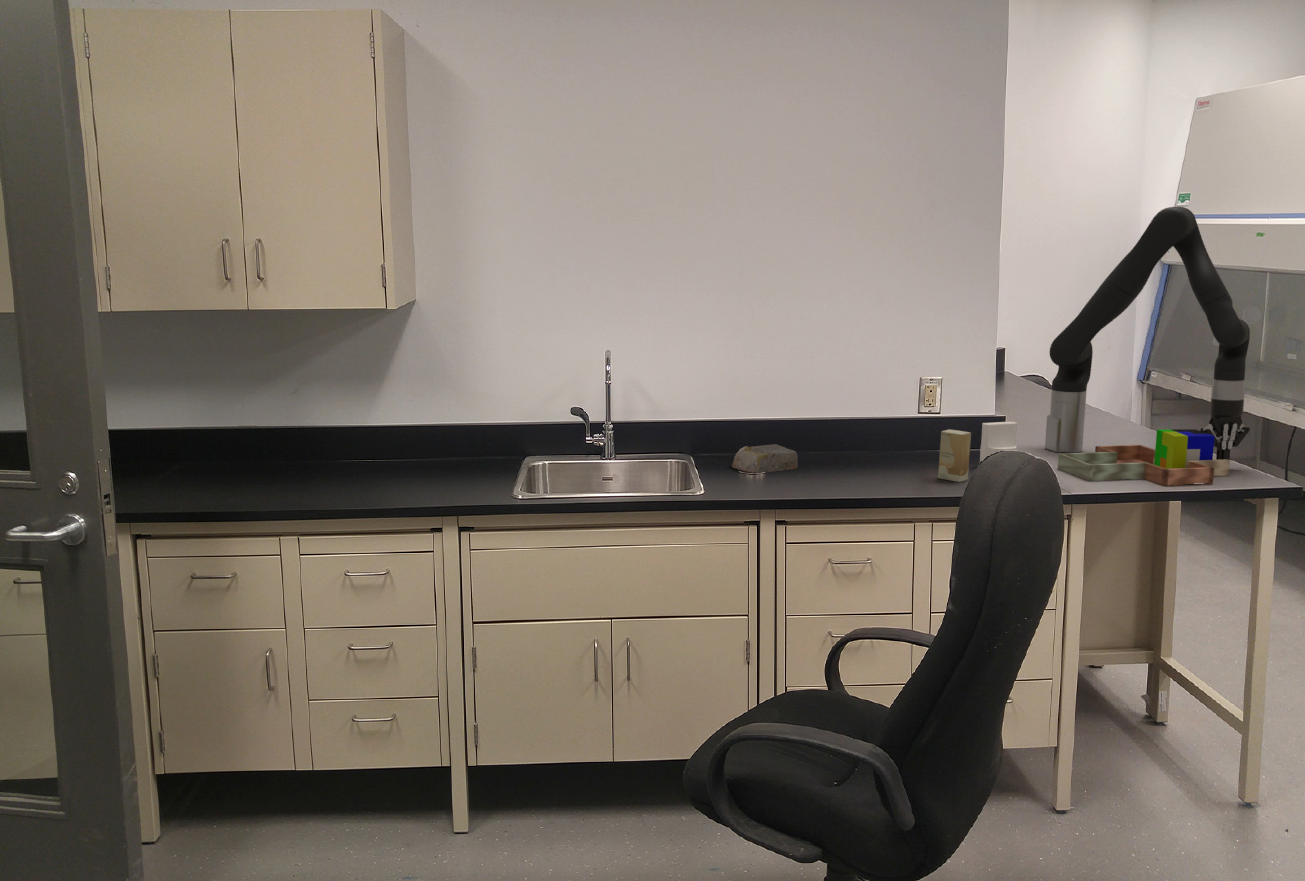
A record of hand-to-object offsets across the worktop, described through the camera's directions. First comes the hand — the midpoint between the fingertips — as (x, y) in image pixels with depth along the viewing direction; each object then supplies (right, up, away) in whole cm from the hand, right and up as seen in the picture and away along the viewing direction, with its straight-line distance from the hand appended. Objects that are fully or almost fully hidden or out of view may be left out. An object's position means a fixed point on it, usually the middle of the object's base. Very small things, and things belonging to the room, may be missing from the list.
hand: (1222, 462), depth 279 cm
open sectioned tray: (-22, -2, -3) cm, 23 cm away
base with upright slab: (-58, -2, +3) cm, 58 cm away
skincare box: (-73, -4, -10) cm, 74 cm away
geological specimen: (-119, -2, +5) cm, 119 cm away
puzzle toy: (-11, -2, -1) cm, 12 cm away
